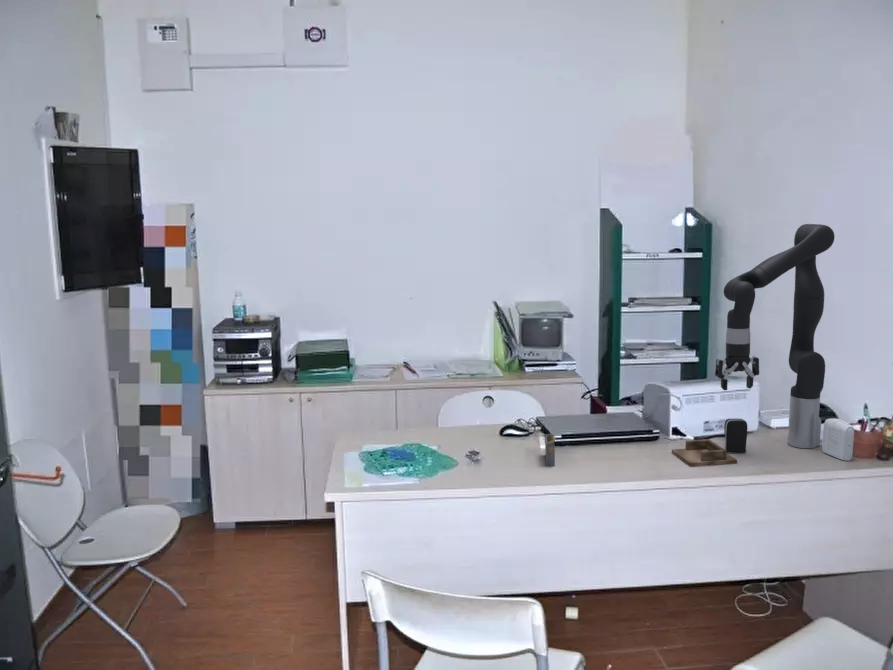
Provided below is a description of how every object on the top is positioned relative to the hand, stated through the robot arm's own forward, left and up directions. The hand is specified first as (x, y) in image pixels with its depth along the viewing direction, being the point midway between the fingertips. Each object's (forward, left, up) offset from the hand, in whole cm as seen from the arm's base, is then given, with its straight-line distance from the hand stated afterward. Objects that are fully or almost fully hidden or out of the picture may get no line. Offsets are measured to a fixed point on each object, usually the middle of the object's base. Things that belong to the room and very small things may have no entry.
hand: (736, 388), depth 257 cm
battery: (0, 0, -22) cm, 22 cm away
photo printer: (-30, +11, -22) cm, 39 cm away
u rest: (+13, +4, -22) cm, 26 cm away
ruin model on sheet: (+63, -4, -23) cm, 67 cm away
